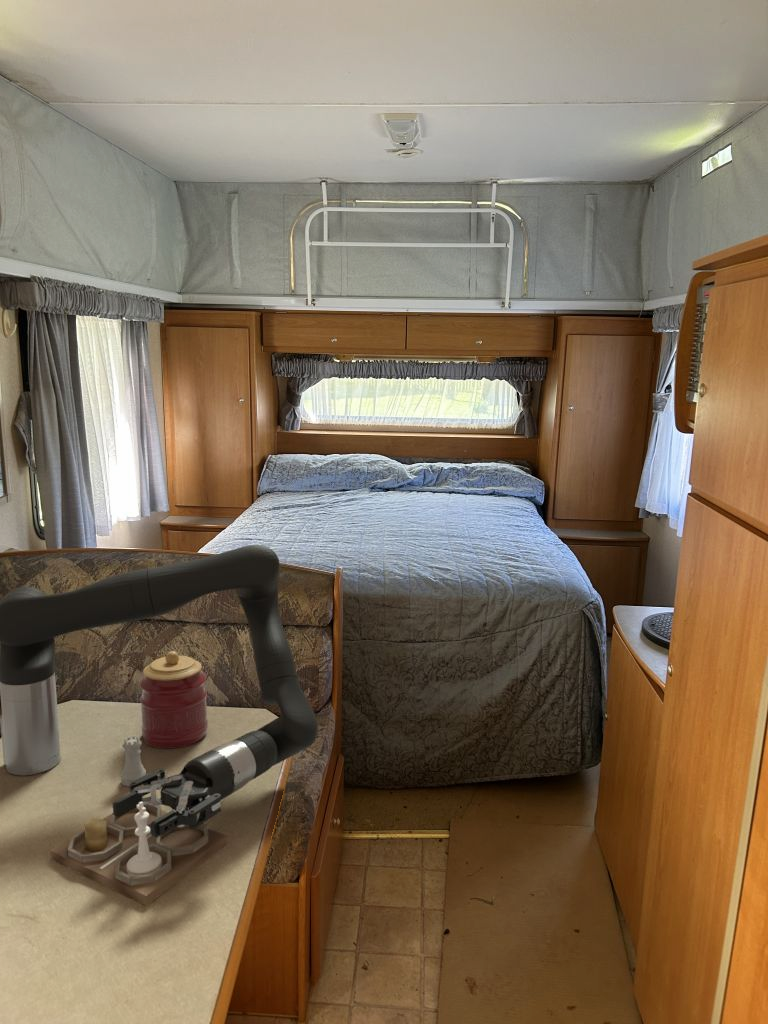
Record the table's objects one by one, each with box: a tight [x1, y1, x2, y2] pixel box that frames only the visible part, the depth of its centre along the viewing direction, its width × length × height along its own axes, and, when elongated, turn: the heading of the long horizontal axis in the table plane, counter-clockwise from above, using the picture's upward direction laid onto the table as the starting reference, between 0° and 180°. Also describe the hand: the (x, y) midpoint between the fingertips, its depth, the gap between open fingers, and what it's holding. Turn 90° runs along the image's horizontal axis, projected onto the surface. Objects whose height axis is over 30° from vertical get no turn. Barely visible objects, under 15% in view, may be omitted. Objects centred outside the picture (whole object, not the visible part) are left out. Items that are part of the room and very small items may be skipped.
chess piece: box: [126, 801, 162, 877], centre depth 106 cm, size 5×5×10 cm
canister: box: [138, 650, 209, 749], centre depth 149 cm, size 13×13×18 cm
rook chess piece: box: [120, 735, 147, 788], centre depth 132 cm, size 4×4×8 cm
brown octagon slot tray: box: [49, 804, 228, 907], centre depth 112 cm, size 20×16×5 cm
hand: (133, 820), depth 104 cm, fingers open, 8 cm apart
